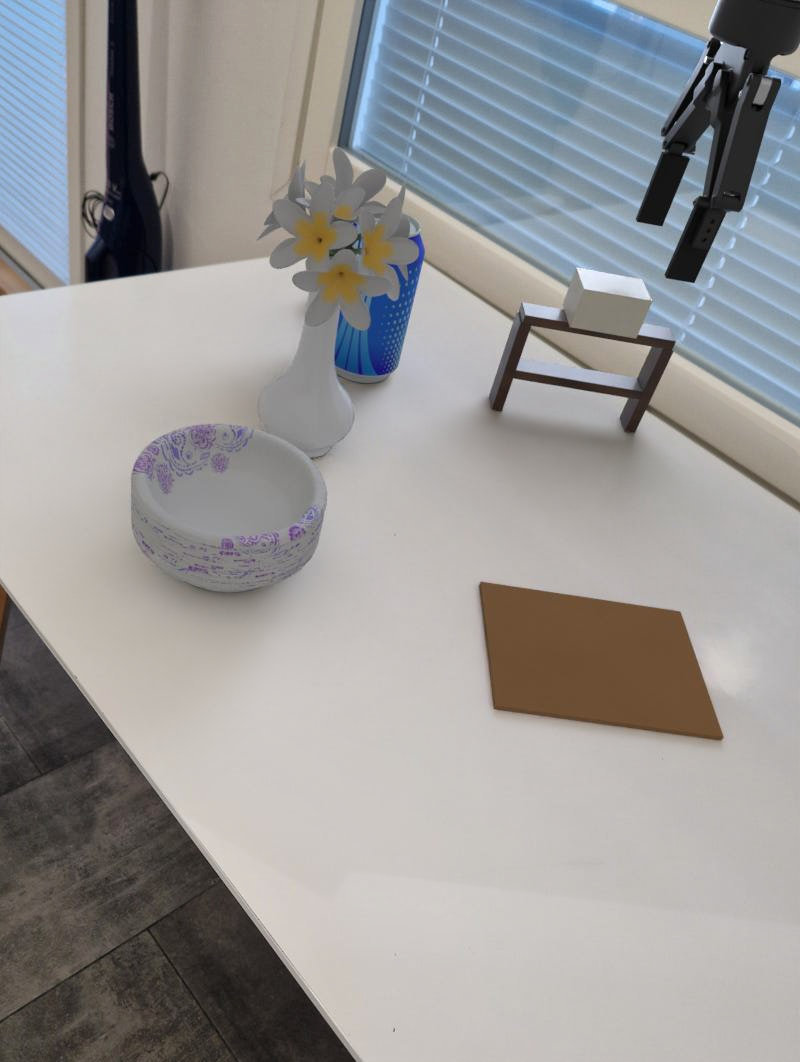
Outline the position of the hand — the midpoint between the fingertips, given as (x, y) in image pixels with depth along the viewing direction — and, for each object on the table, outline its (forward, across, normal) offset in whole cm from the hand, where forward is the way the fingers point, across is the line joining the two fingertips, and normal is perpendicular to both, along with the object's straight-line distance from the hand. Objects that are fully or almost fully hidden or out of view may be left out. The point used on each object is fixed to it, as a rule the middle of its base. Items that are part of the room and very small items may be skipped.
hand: (663, 249), depth 88 cm
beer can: (+19, -2, -27) cm, 33 cm away
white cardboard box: (+8, +1, -4) cm, 9 cm away
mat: (+19, +39, -7) cm, 44 cm away
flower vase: (+19, +15, -32) cm, 40 cm away
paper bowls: (+19, +33, -38) cm, 54 cm away
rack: (+19, +1, -4) cm, 19 cm away
